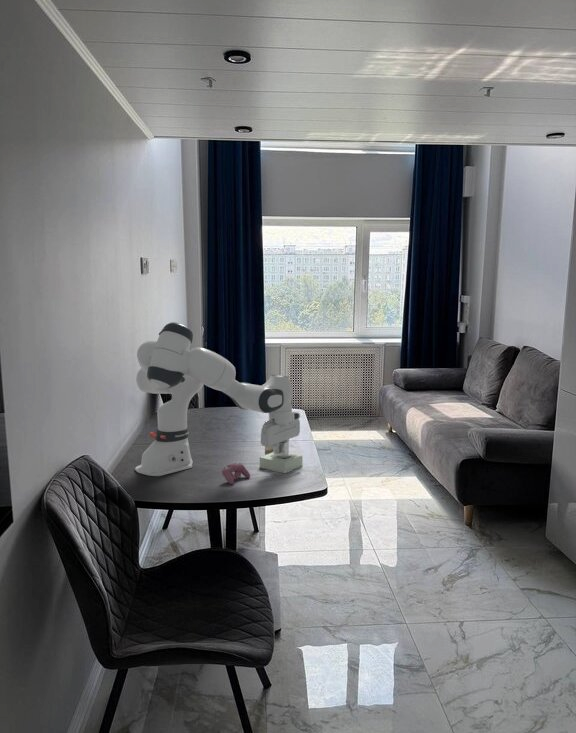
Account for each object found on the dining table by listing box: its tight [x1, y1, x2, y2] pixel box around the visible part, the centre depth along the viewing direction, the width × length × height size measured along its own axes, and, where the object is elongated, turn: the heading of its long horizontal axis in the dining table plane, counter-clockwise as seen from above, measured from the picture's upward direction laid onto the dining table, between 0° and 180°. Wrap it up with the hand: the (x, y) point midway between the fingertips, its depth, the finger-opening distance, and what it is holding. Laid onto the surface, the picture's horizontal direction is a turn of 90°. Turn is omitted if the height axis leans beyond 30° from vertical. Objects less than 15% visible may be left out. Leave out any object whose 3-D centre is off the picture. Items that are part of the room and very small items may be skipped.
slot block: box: [259, 452, 303, 474], centre depth 225 cm, size 11×12×4 cm
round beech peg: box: [264, 446, 273, 455], centre depth 236 cm, size 5×5×8 cm
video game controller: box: [221, 462, 251, 485], centre depth 211 cm, size 10×5×7 cm, turn 141°
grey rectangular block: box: [273, 441, 290, 460], centre depth 224 cm, size 2×6×9 cm, turn 53°
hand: (280, 452), depth 224 cm, fingers closed on grey rectangular block, 2 cm apart
